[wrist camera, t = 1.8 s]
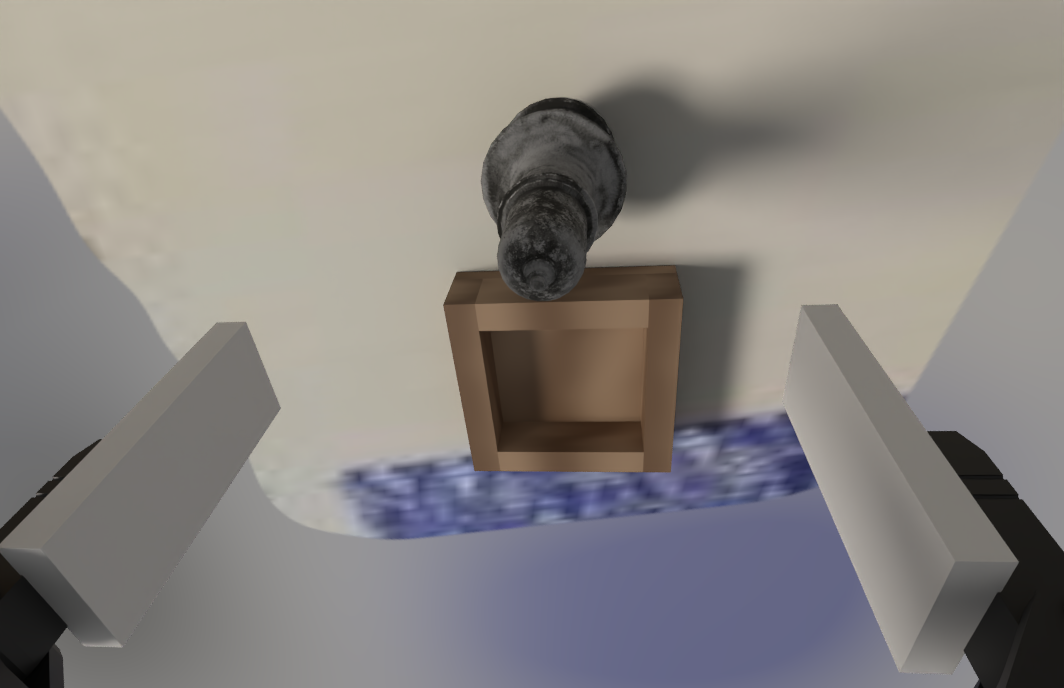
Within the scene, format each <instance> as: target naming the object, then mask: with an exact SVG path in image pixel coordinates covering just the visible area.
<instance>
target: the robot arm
mask: <svg viewBox="0 0 1064 688" xmlns="http://www.w3.org/2000/svg"><path fill="white" fill-rule="evenodd" d="M782 402H783V404H784V407H785V409H786V411H787V414H788V416H789V418H790V421H791V423H792V425H793V427H794V430H795V432H796V434H797V437H798V439H799V441H800V444H801V446H802V448H803V451H804V453H805V455H806V457H807V460H808V462H809V464H810V467H811V469H812V471H813V474H814V476H815V478H816V481H817V483H818V485H819V488H820V490H821V492H822V494H823V497H824V499H825V501H826V504H827V506H828V508H829V510H830V513H831V515H832V518H833V520H834V522H835V525H836V527H837V529H838V531H839V534H840V536H841V538H842V541H843V543H844V545H845V548H846V550H847V552H848V554H849V557H850V559H851V562H852V564H853V566H854V568H855V571H856V573H857V575H858V578H859V580H860V582H861V585H862V587H863V589H864V591H865V594H866V596H867V599H868V601H869V603H870V605H871V608H872V610H873V612H874V615H875V617H876V619H877V622H878V624H879V626H880V628H881V631H882V633H883V635H884V638H885V640H886V642H887V645H888V647H889V649H890V652H891V654H892V656H893V659H894V661H895V663H896V666H897V668H898V670H899V672H900V673H926V674H953V672H954V671H955V669H956V667H957V665H958V664H959V662H960V660H961V659H962V657H963V655H964V654H966V656H967V658H968V660H969V661H970V663H971V665H972V667H973V669H974V671H975V672H976V674H977V676H978V678H979V680H978V682H977V684H976V685H975V687H974V688H1064V551H1063V550H1062V549H1061V548H1060V547H1059V545H1058V544H1057V543H1056V541H1055V540H1054V539H1053V538H1052V536H1051V535H1050V534H1049V533H1048V531H1047V530H1046V529H1045V527H1044V526H1043V525H1042V524H1041V522H1040V521H1039V520H1038V519H1037V517H1036V516H1035V515H1034V513H1033V512H1032V511H1031V510H1030V508H1029V507H1028V506H1027V505H1026V503H1025V502H1024V501H1023V500H1022V499H1019V498H1018V494H1017V492H1016V491H1015V490H1014V488H1013V487H1012V486H1011V484H1010V483H1009V482H1008V481H1007V480H1004V479H1003V474H1002V473H1001V472H1000V470H999V469H998V468H997V467H996V465H995V464H994V463H993V462H992V460H991V459H990V458H989V457H988V455H987V454H986V453H985V451H983V450H982V449H980V448H979V447H978V446H976V445H975V444H973V443H972V442H971V441H969V440H968V439H966V438H965V437H964V436H962V435H961V434H959V433H958V432H957V431H926V430H925V428H924V427H923V425H922V424H921V422H920V421H919V419H918V418H917V417H916V415H915V414H914V412H913V411H912V410H911V408H910V407H909V405H908V404H907V402H906V401H905V400H904V398H903V397H902V395H901V394H900V392H899V391H898V390H897V388H896V387H895V385H894V384H893V383H892V381H891V380H890V378H889V377H888V375H887V374H886V373H885V371H884V370H883V368H882V367H881V366H880V364H879V363H878V361H877V360H876V358H875V357H874V356H873V354H872V353H871V351H870V350H869V348H868V347H867V346H866V344H865V343H864V341H863V340H862V339H861V337H860V336H859V334H858V333H857V331H856V330H855V329H854V327H853V326H852V324H851V323H850V321H849V320H848V319H847V317H846V316H845V314H844V313H843V312H842V310H841V309H840V307H839V306H838V304H830V305H801V310H800V315H799V320H798V325H797V330H796V335H795V340H794V345H793V350H792V355H791V360H790V365H789V370H788V375H787V380H786V385H785V390H784V396H783V401H782ZM280 409H281V407H280V405H279V403H278V400H277V398H276V395H275V393H274V390H273V388H272V385H271V383H270V380H269V378H268V375H267V373H266V370H265V368H264V365H263V363H262V360H261V358H260V356H259V353H258V351H257V348H256V346H255V343H254V341H253V338H252V336H251V333H250V331H249V328H248V326H247V323H246V322H222V323H216V324H215V325H214V326H213V327H212V328H211V329H210V330H209V331H208V332H207V333H206V334H205V335H204V336H203V337H202V338H201V339H200V340H199V341H198V342H197V343H196V344H195V345H194V346H193V347H192V348H191V349H190V350H189V351H188V352H187V353H186V354H185V356H184V357H183V358H182V359H181V360H180V361H179V362H178V363H177V364H176V365H175V366H174V367H173V368H172V369H171V370H170V371H169V372H168V373H167V374H166V375H165V376H164V377H163V378H162V379H161V380H160V381H159V382H158V383H157V384H156V385H155V386H154V387H153V388H152V389H151V390H150V391H149V392H148V393H147V394H146V395H145V396H144V397H143V398H142V399H141V401H139V402H138V403H137V404H136V406H135V407H134V408H133V409H132V410H131V411H130V412H129V413H128V414H127V415H126V416H125V417H124V418H123V419H122V420H121V421H120V422H119V423H118V424H117V425H116V426H115V427H114V428H113V429H112V430H111V431H110V432H109V433H108V434H107V435H106V436H105V437H104V438H103V439H99V440H98V441H96V442H95V443H93V444H91V445H90V446H88V447H87V448H85V449H84V450H82V451H81V452H79V453H78V454H76V455H75V456H73V457H72V458H71V459H70V460H69V461H68V462H67V463H66V464H65V465H64V466H63V467H62V468H61V469H60V470H59V471H58V472H57V473H56V474H55V475H54V476H53V480H52V481H48V482H47V483H46V484H45V485H44V486H43V487H42V488H41V489H40V490H39V491H38V492H37V493H36V497H35V498H31V499H30V500H29V501H28V502H27V503H26V504H25V505H24V506H23V507H22V508H21V509H20V510H19V511H18V512H17V513H16V514H15V515H14V516H13V517H12V518H11V519H10V520H9V521H8V522H7V523H6V524H5V525H4V526H3V527H2V528H1V529H0V688H64V676H63V657H62V655H61V652H60V649H59V648H58V647H57V646H56V645H55V642H56V641H57V640H58V638H59V637H60V636H61V634H62V633H63V632H64V630H65V629H66V628H68V629H69V630H70V631H71V632H72V633H73V634H74V636H75V637H76V638H77V639H78V640H79V641H80V642H81V643H82V644H83V645H84V646H99V647H124V645H125V644H126V642H127V641H128V639H129V638H130V636H131V634H132V633H133V631H134V630H135V628H136V627H137V625H138V624H139V622H140V621H141V619H142V618H143V616H144V615H145V613H146V612H147V610H148V609H149V607H150V606H151V604H152V603H153V601H154V600H155V598H156V596H157V595H158V594H159V592H160V590H161V589H162V587H163V586H164V584H165V583H166V581H167V580H168V578H169V577H170V575H171V574H172V572H173V571H174V569H175V568H176V566H177V565H178V563H179V562H180V560H181V559H182V557H183V556H184V554H185V553H186V551H187V550H188V548H189V547H190V545H191V544H192V542H193V540H194V539H195V537H196V536H197V534H198V533H199V531H200V530H201V528H202V527H203V525H204V524H205V522H206V521H207V519H208V518H209V516H210V515H211V513H212V512H213V510H214V509H215V507H216V506H217V504H218V503H219V501H220V500H221V498H222V496H223V495H224V493H225V492H226V490H227V489H228V487H229V486H230V484H231V483H232V481H233V480H234V478H235V477H236V475H237V474H238V472H239V471H240V469H241V468H242V466H243V465H244V463H245V462H246V460H247V459H248V457H249V456H250V454H251V453H252V451H253V450H254V448H255V447H256V445H257V443H258V442H259V440H260V439H261V437H262V436H263V434H264V433H265V431H266V430H267V428H268V427H269V425H270V424H271V422H272V421H273V419H274V418H275V416H276V415H277V413H278V412H279V410H280Z"/></svg>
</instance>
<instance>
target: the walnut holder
mask: <svg viewBox="0 0 1064 688" xmlns="http://www.w3.org/2000/svg"><path fill="white" fill-rule="evenodd" d="M443 306H444V311H445V316H446V322H447V327H448V332H449V338H450V343H451V348H452V354H453V359H454V364H455V369H456V375H457V380H458V385H459V391H460V396H461V401H462V407H463V412H464V417H465V423H466V428H467V433H468V439H469V444H470V449H471V454H472V460H473V465H474V470H475V471H561V472H671V461H672V447H673V433H674V420H675V406H676V392H677V378H678V364H679V351H680V337H681V323H682V309H683V296H682V292H681V288H680V284H679V280H678V276H677V272H676V268H675V265H669V266H638V267H607V268H585V269H584V273H583V275H582V276H581V278H580V280H579V281H578V283H577V285H576V286H575V287H574V288H573V289H572V290H571V291H570V292H569V293H567V294H566V295H564V296H562V297H560V298H558V299H554V300H550V301H534V300H529V299H526V298H524V297H521V296H519V295H517V294H516V293H515V292H514V291H512V290H511V289H510V288H509V287H508V286H507V284H506V283H505V282H504V281H503V279H502V276H501V274H500V271H482V272H457V273H456V275H455V278H454V280H453V283H452V285H451V287H450V290H449V292H448V295H447V297H446V300H445V302H444V305H443Z"/></svg>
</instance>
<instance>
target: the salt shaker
mask: <svg viewBox="0 0 1064 688" xmlns="http://www.w3.org/2000/svg"><path fill="white" fill-rule="evenodd" d="M481 185H482V193H483V199H484V202H485V204H486V207H487V209H488V212H489V214H490V216H491V218H492V219H493V220H494V222H495V223H496V224H497V228H498V234H499V237H500V243H499V247H498V253H497V259H498V267H499V271H500V274H501V276H502V279H503V281H504V282H505V283H506V284H507V286H508V287H509V288H510V289H511V290H512V291H514V292H515V293H516V294H517V295H519V296H521V297H524V298H526V299H529V300H534V301H550V300H554V299H558V298H560V297H562V296H564V295H566V294H567V293H569V292H570V291H571V290H572V289H573V288H574V287H575V286H576V285H577V283H578V281H579V280H580V278H581V276H582V275H583V273H584V269H585V265H586V253H587V252H588V251H589V249H590V247H591V246H592V244H593V242H594V241H595V240H597V239H598V238H600V237H601V236H602V235H603V234H604V233H605V232H606V231H607V230H608V229H609V228H610V227H611V226H612V224H613V223H614V221H615V219H616V218H617V216H618V214H619V213H620V211H621V209H622V205H623V202H624V198H625V195H626V170H625V166H624V162H623V159H622V155H621V153H620V151H619V149H618V148H617V146H616V144H615V143H614V140H613V136H612V133H611V131H610V130H609V128H608V126H607V124H606V123H605V121H604V120H603V119H602V118H601V117H600V116H599V115H598V114H597V113H596V112H595V111H594V110H593V109H592V108H590V107H588V106H586V105H584V104H582V103H580V102H579V101H575V100H570V99H565V98H551V99H544V100H541V101H539V102H536V103H533V104H531V105H529V106H528V107H526V108H525V109H524V110H522V111H521V112H519V113H518V114H517V115H516V117H515V118H514V119H513V120H512V121H511V123H510V124H509V125H508V126H507V127H506V128H504V129H503V130H502V131H501V133H500V134H499V135H498V136H497V138H496V139H495V140H494V141H493V143H492V144H491V146H490V148H489V150H488V153H487V155H486V157H485V160H484V162H483V169H482V177H481Z"/></svg>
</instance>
